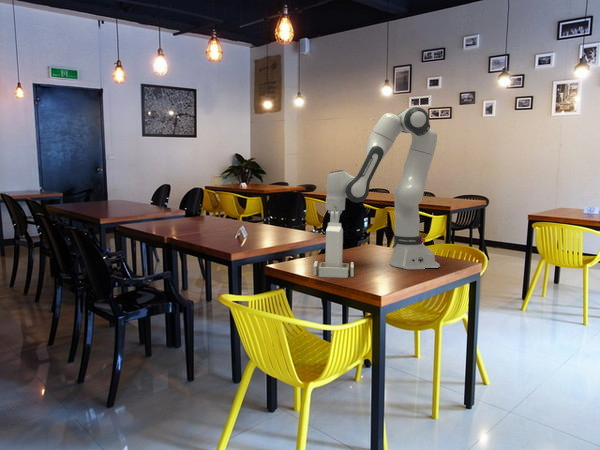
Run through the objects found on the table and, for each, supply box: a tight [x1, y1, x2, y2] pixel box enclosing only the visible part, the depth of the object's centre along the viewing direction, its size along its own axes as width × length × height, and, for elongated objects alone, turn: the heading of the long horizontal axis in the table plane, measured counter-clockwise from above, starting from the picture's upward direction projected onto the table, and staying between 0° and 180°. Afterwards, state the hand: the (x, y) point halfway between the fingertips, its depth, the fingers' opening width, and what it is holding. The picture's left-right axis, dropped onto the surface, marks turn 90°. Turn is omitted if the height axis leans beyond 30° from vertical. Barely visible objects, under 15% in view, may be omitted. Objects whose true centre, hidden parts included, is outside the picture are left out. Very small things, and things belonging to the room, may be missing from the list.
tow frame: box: [317, 261, 350, 278], centre depth 219 cm, size 13×25×4 cm, turn 175°
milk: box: [325, 222, 344, 268], centre depth 212 cm, size 6×6×22 cm
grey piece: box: [312, 260, 355, 279], centre depth 211 cm, size 17×12×4 cm
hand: (333, 235), depth 227 cm, fingers closed
